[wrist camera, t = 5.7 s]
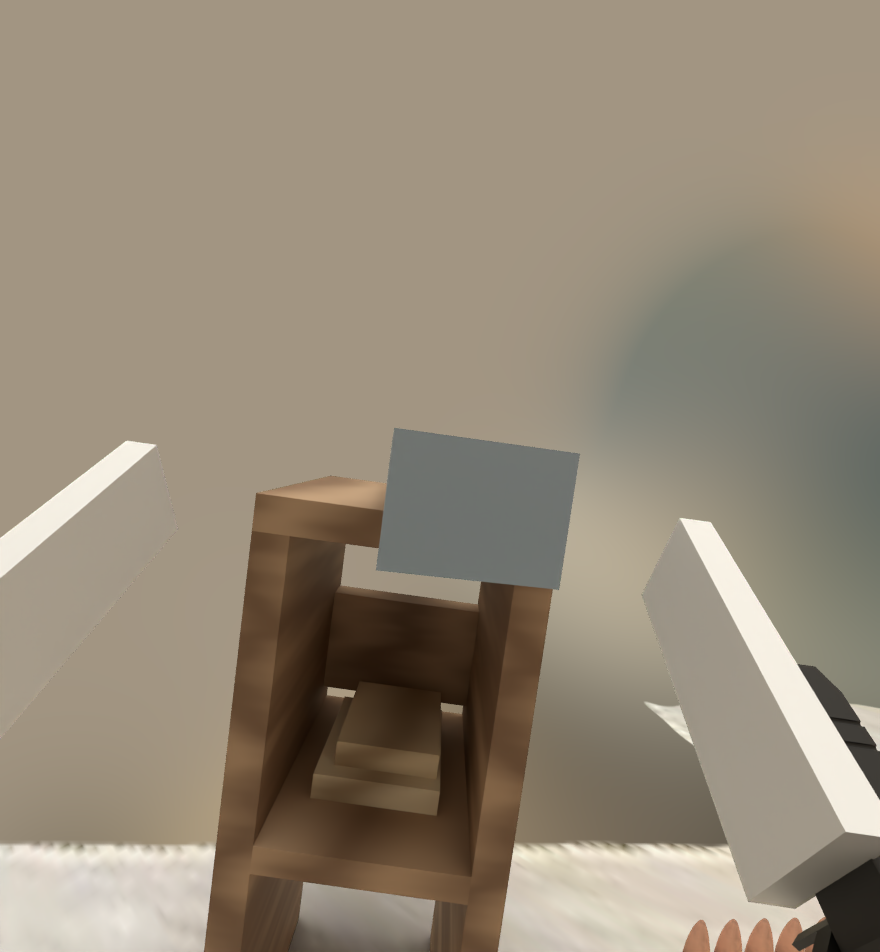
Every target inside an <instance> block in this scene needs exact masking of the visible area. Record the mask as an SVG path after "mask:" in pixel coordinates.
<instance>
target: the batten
mask: <svg viewBox="0 0 880 952" xmlns="http://www.w3.org/2000/svg"><path fill="white" fill-rule="evenodd" d="M579 456H580V454H578V453H571V452H563V451H557V450H549V449H542V448H535V447H527V446H521V445H513V444H506V443H499V442H492V441H484V440H478V439H470V438H463V437H456V436H449V435H441V434H434V433H427V432H420V431H413V430H406V429H398V428H394V434H393V440H392V448H391V456H390V463H389V471H388V479H387V487H386V495H385V503H384V511H383V519H382V527H381V535H380V543H379V551H378V559H377V568H376V570H378V571H388V572H397V573H406V574H416V575H425V576H435V577H444V578H453V579H464V580H472V581H481V582H491V583H500V584H510V585H519V586H528V587H538V588H547V589H556V590H559V586H560V580H561V574H562V567H563V561H564V554H565V547H566V541H567V534H568V528H569V521H570V514H571V508H572V502H573V494H574V488H575V482H576V475H577V468H578V462H579Z"/></svg>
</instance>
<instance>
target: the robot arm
mask: <svg viewBox="0 0 880 952" xmlns="http://www.w3.org/2000/svg"><path fill="white" fill-rule="evenodd" d="M177 530H178V526H177V523H176V519H175V515H174V511H173V508H172V504H171V499H170V495H169V492H168V487H167V484H166V480H165V476H164V472H163V468H162V464H161V460H160V456H159V453H158V449H157V445H152V444H146V443H138V442H131V441H126V442H124V443H123V444H122V445H121V446H119V447H118V448H117V449H115V450H114V451H113V452H111V453H110V454H109V455H108V456H106V457H105V458H104V459H102V460H101V461H100V462H98V463H97V464H96V465H95V466H93V467H92V468H91V469H89V470H88V471H87V472H85V473H84V474H83V475H82V476H80V477H79V478H78V479H76V480H75V481H74V482H72V483H71V484H70V485H69V486H67V487H66V488H65V489H63V490H62V491H61V492H59V493H58V494H57V495H56V496H54V497H53V498H52V499H51V500H49V501H48V502H46V503H45V504H44V505H43V506H41V507H40V508H39V509H37V510H36V511H35V512H33V513H32V514H31V515H30V516H28V517H27V518H26V519H25V520H23V521H22V522H20V523H19V524H18V525H17V526H16V527H14V528H13V529H11V530H10V531H9V532H8V533H6V534H5V535H4V536H2V537H1V538H0V739H1V737H2V736H3V735H4V734H5V733H6V732H7V730H8V729H9V728H10V727H11V726H12V724H13V723H14V722H15V721H16V720H17V719H18V717H19V716H20V715H21V714H22V713H23V712H24V710H25V709H26V708H27V707H28V706H29V704H30V703H31V702H32V701H33V700H34V699H35V697H36V696H37V695H38V694H39V693H40V692H41V690H42V689H43V688H44V687H45V686H46V684H47V683H48V682H49V681H50V680H51V679H52V677H53V676H54V675H55V674H56V672H58V670H59V669H60V668H61V667H62V666H63V664H64V663H65V662H66V661H67V659H69V657H70V656H71V655H72V654H73V653H74V651H75V650H76V649H77V648H78V647H79V645H80V644H81V643H82V642H83V641H84V640H85V639H86V637H87V636H88V635H89V633H91V631H92V630H93V629H94V628H95V627H96V626H97V624H98V623H99V622H100V621H101V620H102V618H103V617H104V616H105V615H106V614H107V613H108V611H109V610H110V609H111V608H112V607H113V605H114V604H115V603H116V602H117V601H118V599H119V598H120V597H121V596H122V595H123V594H124V592H125V591H126V590H127V589H128V588H129V587H130V585H131V584H132V583H133V582H134V581H135V579H136V578H137V577H138V576H139V575H140V574H141V572H142V571H143V570H144V569H145V567H146V566H147V565H148V564H149V563H150V562H151V561H152V559H153V558H154V557H155V556H156V555H157V554H158V552H159V551H160V550H161V549H162V548H163V546H164V545H165V544H166V543H167V542H168V540H169V539H170V538H171V537H172V536H173V535H174V533H175V532H176V531H177ZM642 597H643V600H644V603H645V606H646V609H647V612H648V615H649V618H650V620H651V623H652V626H653V629H654V632H655V635H656V638H657V641H658V643H659V646H660V649H661V652H662V655H663V658H664V660H665V664H666V667H667V669H668V672H669V675H670V678H671V681H672V684H673V687H674V690H675V692H676V695H677V698H678V701H679V704H680V707H681V710H682V713H683V715H684V718H685V721H686V724H687V727H688V730H689V733H690V736H691V739H692V741H693V744H694V747H695V750H696V753H697V756H698V759H699V762H700V764H701V767H702V770H703V773H704V776H705V779H706V781H707V784H708V787H709V790H710V793H711V796H712V799H713V801H714V805H715V808H716V810H717V813H718V816H719V819H720V822H721V825H722V827H723V830H724V833H725V836H726V839H727V842H728V845H729V848H730V851H731V854H732V856H733V859H734V862H735V865H736V868H737V871H738V874H739V877H740V880H741V882H742V885H743V888H744V891H745V894H746V897H747V900H748V902H754V903H761V904H767V905H774V906H780V907H787V908H794V909H796V908H797V907H799V906H800V905H802V904H803V903H805V902H807V901H808V900H810V899H811V898H813V897H815V896H816V897H817V899H818V901H819V904H820V906H821V908H822V910H823V913H824V915H825V917H826V919H824V920H822V921H821V922H819V923H817V924H815V925H814V926H812V927H810V928H808V929H806V930H805V931H803V932H801V933H799V934H798V935H797V937H796V938H795V940H794V942H793V943H792V945H793V946H794V947H795V948H796V949H797V950H798V951H801V950H803V949H805V948H807V947H809V946H810V945H812V944H814V945H813V949H812V952H880V751H877V750H876V744H875V742H874V741H873V739H872V738H871V736H870V735H869V733H868V732H867V730H866V729H865V727H862V726H861V725H860V720H859V718H858V716H857V715H856V713H855V712H854V710H853V709H852V707H851V706H850V704H849V703H848V701H847V700H846V698H845V697H844V695H843V694H842V692H841V691H840V690H839V689H838V688H837V687H835V686H834V685H833V684H832V683H831V682H830V681H829V680H828V679H827V678H826V677H825V676H824V675H823V674H822V673H821V672H820V671H819V670H818V669H817V668H816V667H813V666H806V665H800V664H797V663H796V662H795V660H794V658H793V657H792V655H791V654H790V652H789V650H788V649H787V647H786V645H785V644H784V642H783V641H782V639H781V637H780V635H779V634H778V632H777V630H776V629H775V627H774V626H773V624H772V622H771V621H770V619H769V617H768V616H767V614H766V612H765V611H764V609H763V607H762V606H761V604H760V603H759V601H758V599H757V598H756V596H755V594H754V593H753V591H752V589H751V588H750V586H749V584H748V583H747V581H746V580H745V578H744V576H743V575H742V573H741V571H740V570H739V568H738V566H737V565H736V563H735V561H734V560H733V558H732V557H731V555H730V553H729V552H728V550H727V548H726V547H725V545H724V543H723V542H722V540H721V538H720V537H719V535H718V533H717V532H716V530H715V529H714V527H713V525H712V524H711V522H705V521H698V520H691V519H684V518H679V520H678V522H677V524H676V526H675V528H674V531H673V533H672V534H671V536H670V538H669V540H668V542H667V544H666V547H665V548H664V551H663V553H662V555H661V557H660V559H659V561H658V563H657V565H656V567H655V569H654V571H653V573H652V575H651V577H650V579H649V581H648V583H647V585H646V587H645V589H644V591H643V593H642Z"/></svg>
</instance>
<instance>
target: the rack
mask: <svg viewBox="0 0 880 952" xmlns="http://www.w3.org/2000/svg"><path fill="white" fill-rule="evenodd" d="M386 487H387V483H379V482H372V481H365V480H357V479H349V478H342V477H336V476H328V477H323V478H319V479H315V480H311V481H306V482H302V483H298V484H294V485H289V486H285V487H280V488H276V489H272V490H268V491H263V492H259V493H256V500H255V509H254V517H253V527H252V535H251V544H250V552H249V561H248V570H247V579H246V587H245V596H244V605H243V614H242V623H241V632H240V640H239V649H238V659H237V667H236V676H235V684H234V693H233V703H232V711H231V719H230V728H229V737H228V746H227V755H226V763H225V772H224V781H223V791H222V799H221V808H220V816H219V825H218V834H217V843H216V851H215V860H214V869H213V878H212V887H211V895H210V904H209V913H208V922H207V931H206V939H205V948H204V952H288V950H289V946H290V943H291V940H292V937H293V934H294V931H295V927H296V924H297V921H298V918H299V911H300V903H301V895H302V887H303V882H309V883H316V884H323V885H330V886H337V887H344V888H351V889H358V890H365V891H372V892H380V893H387V894H394V895H401V896H408V897H415V898H422V899H429V900H436V901H435V908H434V915H433V922H432V929H431V936H430V952H498V946H499V939H500V932H501V926H502V919H503V913H504V906H505V899H506V893H507V886H508V880H509V873H510V867H511V860H512V853H513V847H514V840H515V833H516V827H517V821H518V814H519V807H520V801H521V793H522V788H523V781H524V774H525V768H526V761H527V755H528V748H529V742H530V735H531V728H532V722H533V715H534V708H535V702H536V695H537V689H538V682H539V676H540V669H541V662H542V656H543V649H544V643H545V636H546V630H547V623H548V617H549V610H550V603H551V597H552V590H553V589H547V588H538V587H528V586H519V585H510V584H500V583H491V582H481V586H480V593H479V600H478V605H477V604H470V603H463V602H456V601H448V600H441V599H434V598H427V597H419V596H412V595H404V594H398V593H390V592H383V591H376V590H368V589H361V588H354V587H347V586H340V584H341V577H342V569H343V560H344V553H345V545H346V544H351V545H358V546H366V547H373V548H379V543H380V535H381V527H382V519H383V511H384V503H385V495H386ZM327 687H333V688H341V689H348V690H355V691H356V692H355V695H354V698H351V697H345V698H342V697H335V696H327ZM441 703H448V704H455V705H463V712H462V714H457V713H450V712H442V710H441Z"/></svg>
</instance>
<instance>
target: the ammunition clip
mask: <svg viewBox="0 0 880 952" xmlns="http://www.w3.org/2000/svg"><path fill="white" fill-rule="evenodd" d="M824 919H826V917H824V918H822V919H821V920H820V921H819V922H821V921H822V920H824ZM819 922H818V923H819ZM801 932H802V928H801V925H800V922H799V920H798V919H797V918H793V919H791V920H790V921H789V922H788V923H787V924H786V926H785V927H784V929H783V930H782V932H781V934H780V937H779V939H778V942H777V945H776V948H775V952H804V949H803V950H801V951H798V950H797V949H796V948H795V947H794V946H793V945H792V943H793V942H794V940H795V938H796V937H797V935H798V934H799V933H801ZM813 945H814V944H812V945H810V946H809V947H807V948H805V952H812V949H813ZM683 952H710V946H709V936H708V931H707V927H706V924H705V922H704V921H703V920H699V921H698V922H697V923H696V924H695V925H694V926H693V928H692V930H691V931H690V933H689V935H688V938H687V940H686V943H685V946H684V949H683ZM714 952H742V943H741V935H740V930H739V926H738V923H737V921H736V920H735V919H732V920H730V921H729V922H728V923H727V924H726V925H725V927H724V928H723V930H722V932H721V934H720V936H719V938H718V941H717V944H716V947H715V950H714ZM745 952H774V951H773V938H772V932H771V928H770V924H769V922H768V920H767V919H765V918H764V919H762V920H761V921H759V922H758V923H757V925H756V926H755V928H754V929H753V931H752V933H751V935H750V937H749V940H748V943H747V945H746V949H745Z"/></svg>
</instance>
